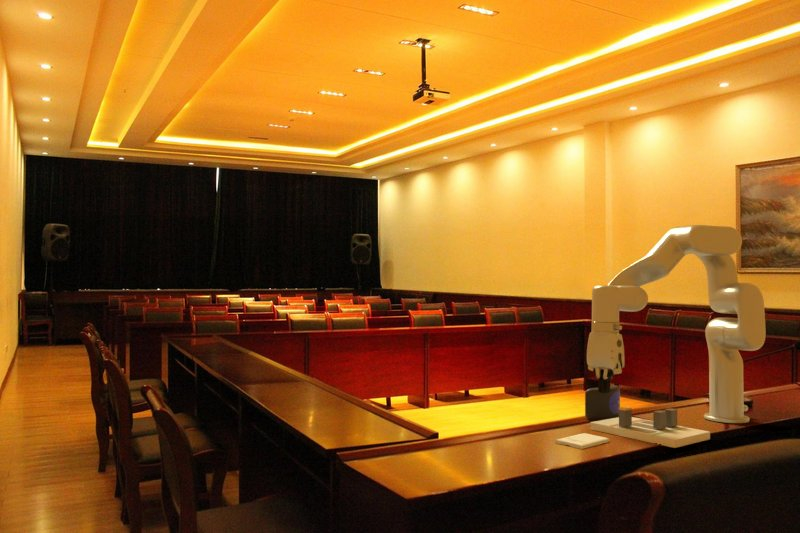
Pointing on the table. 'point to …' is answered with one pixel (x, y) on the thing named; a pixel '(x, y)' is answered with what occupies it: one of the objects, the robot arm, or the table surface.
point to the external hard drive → (582, 441)
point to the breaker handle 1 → (659, 419)
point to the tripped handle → (625, 416)
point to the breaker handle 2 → (671, 417)
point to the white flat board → (652, 432)
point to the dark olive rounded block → (602, 403)
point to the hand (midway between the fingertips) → (604, 392)
